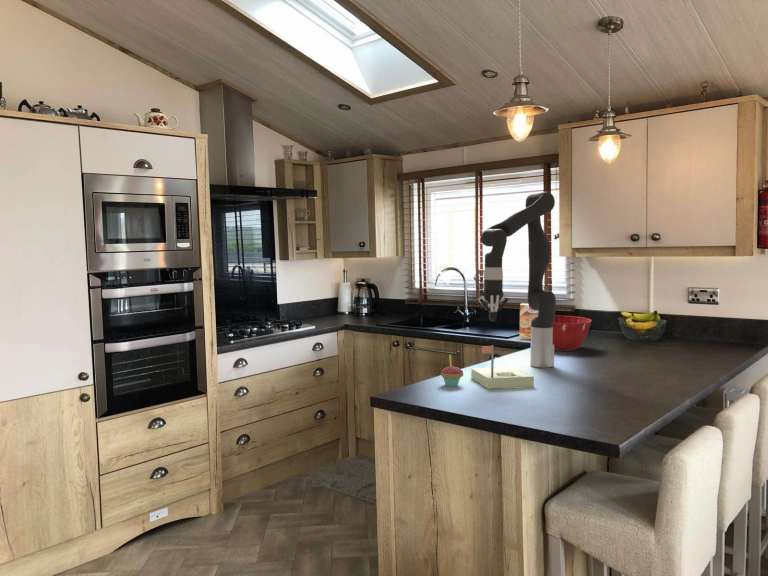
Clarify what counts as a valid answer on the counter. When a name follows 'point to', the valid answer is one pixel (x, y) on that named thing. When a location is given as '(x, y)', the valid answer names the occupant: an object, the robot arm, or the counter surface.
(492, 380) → the board
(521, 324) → the coffeecake box
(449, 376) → the cupcake
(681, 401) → the counter surface
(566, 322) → the mixing bowl
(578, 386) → the counter surface
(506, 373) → the ball
